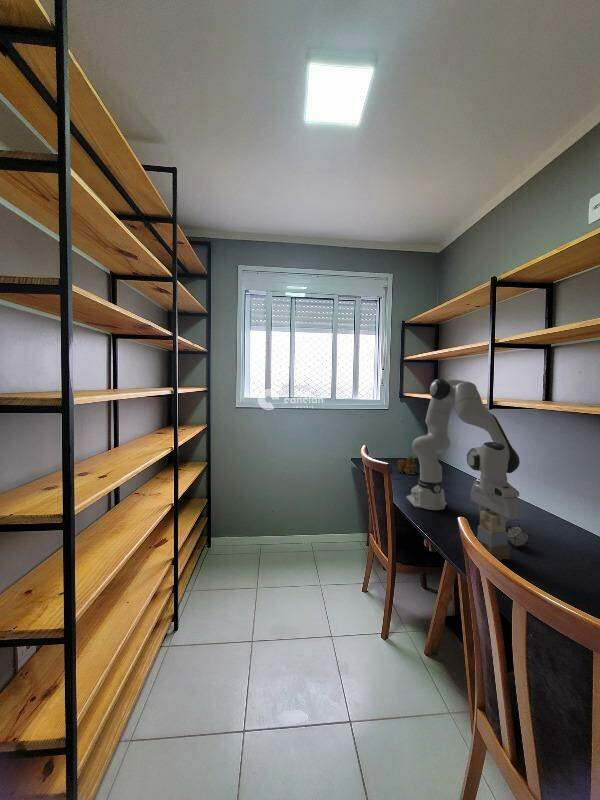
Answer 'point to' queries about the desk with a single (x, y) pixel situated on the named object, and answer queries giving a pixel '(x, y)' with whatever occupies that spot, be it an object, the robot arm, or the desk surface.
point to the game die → (517, 536)
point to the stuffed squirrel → (406, 465)
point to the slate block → (493, 537)
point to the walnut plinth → (498, 551)
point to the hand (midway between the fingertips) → (492, 521)
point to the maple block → (491, 521)
